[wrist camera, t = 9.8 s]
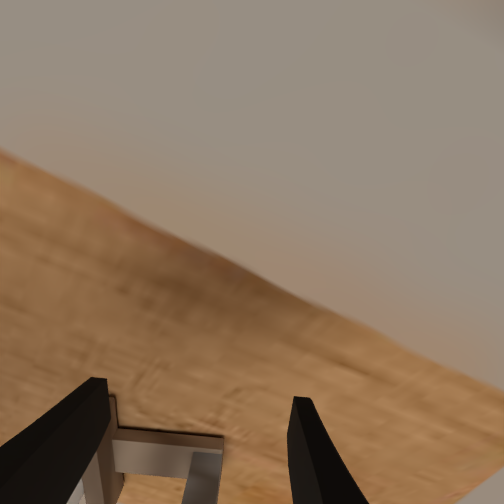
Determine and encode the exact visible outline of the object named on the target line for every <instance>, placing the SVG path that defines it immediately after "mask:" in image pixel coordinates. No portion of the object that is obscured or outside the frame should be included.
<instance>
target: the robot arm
mask: <svg viewBox="0 0 504 504" xmlns="http://www.w3.org/2000/svg"><path fill="white" fill-rule="evenodd" d="M110 420H111V411H110V402H109V394H108V385H107V379H105V378H95V377H91V378H89V379H88V380H87V381H86V382H84V383H83V384H82V385H80V386H79V387H78V388H77V389H75V390H74V391H73V392H72V393H70V394H69V395H68V396H67V397H65V398H64V399H63V400H62V401H60V402H59V403H58V404H56V405H55V406H54V407H53V408H51V409H50V410H49V411H48V412H46V413H45V414H44V415H42V416H41V417H40V418H38V419H37V420H36V421H35V422H33V423H32V424H31V425H29V426H28V427H27V428H25V429H24V430H23V431H21V432H20V433H19V434H17V435H16V436H15V437H13V438H12V439H10V440H9V441H8V442H6V443H5V444H3V445H2V446H1V447H0V504H67V502H68V500H69V499H70V497H71V495H72V493H73V492H74V490H75V488H76V486H77V485H78V483H79V481H80V479H81V478H82V476H83V474H84V472H85V471H86V469H87V467H88V465H89V463H90V462H91V460H92V458H93V456H94V455H95V453H96V451H97V449H98V447H99V445H100V443H101V441H102V438H103V436H104V434H105V432H106V429H107V427H108V425H109V422H110ZM287 448H288V467H289V475H290V483H291V490H292V498H293V504H369V503H368V501H367V500H366V498H365V497H364V495H363V494H362V492H361V490H360V489H359V487H358V486H357V484H356V482H355V481H354V479H353V478H352V476H351V474H350V473H349V471H348V469H347V468H346V466H345V464H344V462H343V461H342V459H341V457H340V455H339V453H338V452H337V450H336V448H335V446H334V444H333V443H332V441H331V439H330V437H329V435H328V433H327V431H326V429H325V427H324V425H323V423H322V421H321V419H320V417H319V415H318V413H317V410H316V408H315V406H314V404H313V401H312V400H311V399H310V398H307V397H297V396H294V398H293V404H292V410H291V415H290V421H289V426H288V432H287Z"/></svg>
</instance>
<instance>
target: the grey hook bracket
mask: <svg viewBox="0 0 504 504" xmlns="http://www.w3.org/2000/svg"><path fill="white" fill-rule="evenodd" d="M109 402H110V411H111V420H110V422H109V425H108V427H107V429H106V432H105V434H104V436H103V438H102V441H101V443H100V445H99V447H98V449H97V451H96V453H95V455H94V456H93V458H92V460H91V462H90V463H89V465H88V467H87V469H86V471H85V472H84V474H83V476H82V482H83V488H84V493H85V499H86V504H116V503H117V500H118V498H119V496H120V493H121V491H122V488H123V486H124V483H123V474H122V473H132V474H142V475H153V476H163V477H174V478H184V479H187V482H186V486H185V491H184V495H183V499H182V504H217V501H218V493H219V486H220V479H221V471H222V459H223V445H224V438H214V437H204V436H193V435H183V434H172V433H161V432H151V431H140V430H130V429H119V428H118V427H117V418H116V408H115V399H114V397H109Z"/></svg>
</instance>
